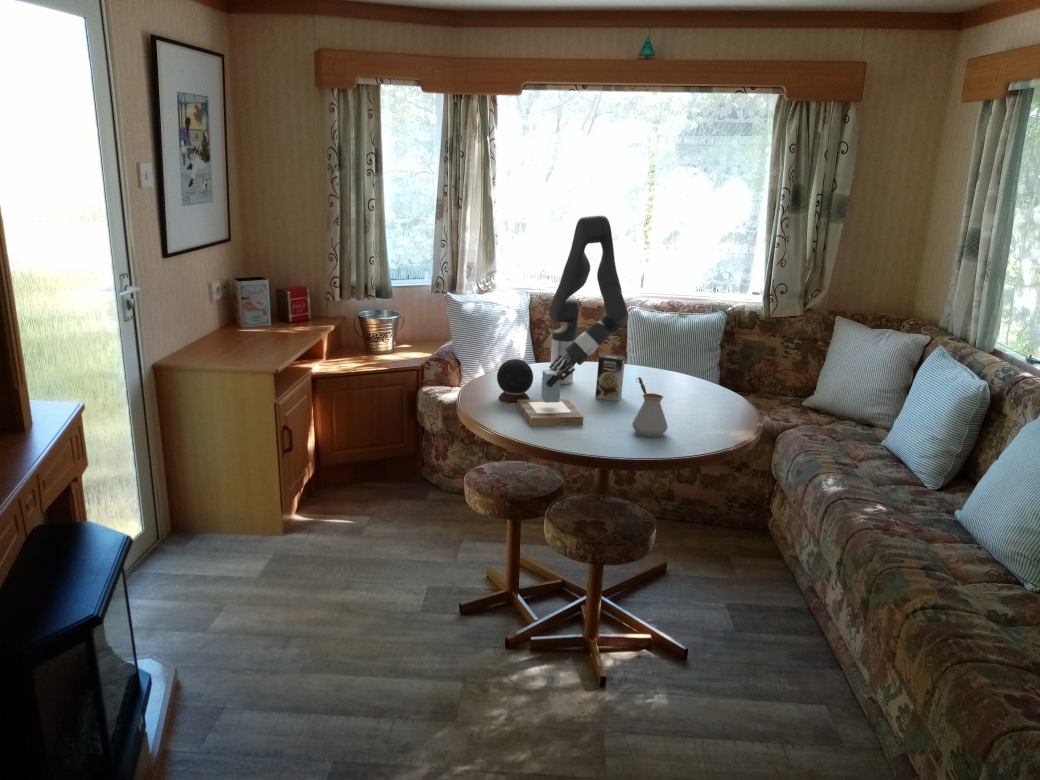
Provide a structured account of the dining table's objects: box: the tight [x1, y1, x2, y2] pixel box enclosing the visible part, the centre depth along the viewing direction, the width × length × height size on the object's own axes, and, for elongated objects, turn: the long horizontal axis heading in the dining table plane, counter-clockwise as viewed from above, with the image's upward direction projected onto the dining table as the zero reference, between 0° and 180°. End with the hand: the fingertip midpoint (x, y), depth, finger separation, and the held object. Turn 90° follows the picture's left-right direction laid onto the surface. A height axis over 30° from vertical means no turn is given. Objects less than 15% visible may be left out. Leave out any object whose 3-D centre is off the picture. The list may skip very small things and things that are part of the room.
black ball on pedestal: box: [496, 358, 534, 404], centre depth 281 cm, size 13×13×15 cm
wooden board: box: [516, 398, 584, 427], centre depth 266 cm, size 20×18×3 cm
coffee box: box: [594, 353, 626, 402], centre depth 288 cm, size 9×6×16 cm
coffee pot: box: [631, 376, 668, 438], centre depth 257 cm, size 21×12×15 cm, turn 9°
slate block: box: [540, 369, 561, 403], centre depth 263 cm, size 5×5×10 cm
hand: (545, 382), depth 262 cm, fingers closed on slate block, 5 cm apart
